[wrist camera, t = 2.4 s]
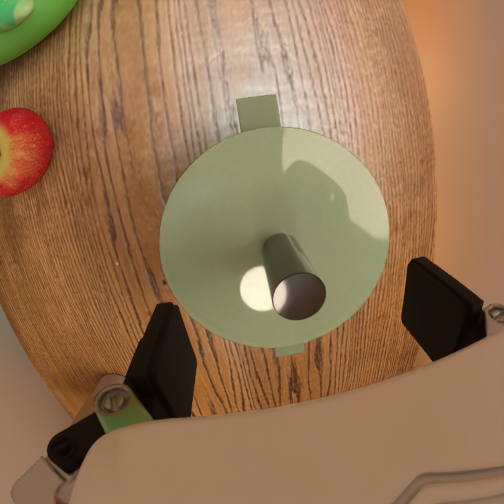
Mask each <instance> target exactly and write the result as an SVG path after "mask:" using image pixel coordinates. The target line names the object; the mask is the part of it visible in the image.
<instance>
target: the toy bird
mask: <svg viewBox="0 0 504 504" xmlns="http://www.w3.org/2000/svg"><path fill="white" fill-rule="evenodd" d="M77 1H78V0H0V66H1V65H3V64H5V63H8V62H10V61H12V60H13V59H15V58H17V57H19V56H20V55H22V54H24V53H25V52H27V51H28V50H30V49H31V48H33V47H34V46H35V45H37V44H38V43H39V42H40V41H42V40H43V39H44V38H45V37H46V36H47V35H49V34H50V33H51V32H52V31H53V30H54V29H55V28H56V27H57V26H58V25H59V24H60V23H61V22H62V21H63V20H64V18H65V17H66V16H67V15H68V14H69V12H70V11H71V10H72V8H73V7H74V5H75V4H76V2H77Z"/></svg>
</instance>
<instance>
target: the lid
mask: <svg viewBox="0 0 504 504" xmlns="http://www.w3.org/2000/svg"><path fill="white" fill-rule="evenodd" d="M388 245H389V220H388V215H387V210H386V205H385V202H384V199H383V196H382V193H381V191H380V189H379V187H378V185H377V183H376V181H375V179H374V178H373V176H372V175H371V173H370V172H369V171H368V169H367V168H366V167H365V165H364V164H363V163H362V162H361V161H360V160H359V159H358V158H357V157H356V156H355V155H354V154H353V153H351V152H350V151H349V150H348V149H346V148H345V147H344V146H342V145H340V144H339V143H337V142H335V141H334V140H332V139H330V138H328V137H325V136H323V135H320V134H318V133H315V132H312V131H308V130H304V129H300V128H291V127H264V128H259V129H254V130H249V131H245V132H242V133H239V134H237V135H234V136H231V137H229V138H227V139H225V140H223V141H221V142H219V143H217V144H216V145H214V146H212V147H211V148H210V149H208V150H207V151H206V152H204V153H203V154H201V155H200V156H199V157H198V158H197V159H196V160H195V161H194V162H193V163H192V164H191V165H190V166H189V167H188V168H187V169H186V170H185V172H184V173H183V174H182V176H181V177H180V178H179V180H178V181H177V183H176V184H175V186H174V188H173V190H172V192H171V194H170V195H169V198H168V200H167V203H166V206H165V208H164V211H163V215H162V220H161V225H160V235H159V249H160V259H161V263H162V268H163V272H164V275H165V277H166V280H167V283H168V285H169V287H170V289H171V291H172V293H173V295H174V296H175V298H176V299H177V301H178V302H179V304H180V305H181V306H182V308H183V309H184V310H185V311H186V312H187V313H188V314H189V315H190V316H191V317H192V318H193V319H194V320H195V321H196V322H198V323H199V324H200V325H201V326H202V327H204V328H206V329H207V330H209V331H210V332H212V333H213V334H215V335H217V336H220V337H222V338H224V339H226V340H229V341H232V342H235V343H238V344H242V345H247V346H252V347H262V348H278V347H286V346H293V345H297V344H301V343H305V342H308V341H311V340H313V339H316V338H318V337H320V336H323V335H325V334H327V333H329V332H330V331H332V330H334V329H335V328H337V327H338V326H340V325H341V324H342V323H344V322H345V321H346V320H348V319H349V318H350V317H351V316H352V315H353V314H354V313H355V312H356V311H357V310H358V309H359V308H360V307H361V306H362V305H363V303H364V302H365V301H366V300H367V298H368V297H369V295H370V294H371V292H372V291H373V289H374V288H375V286H376V284H377V282H378V280H379V278H380V275H381V273H382V270H383V267H384V264H385V261H386V257H387V252H388Z"/></svg>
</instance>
